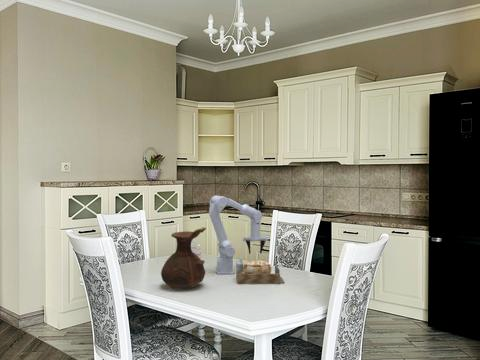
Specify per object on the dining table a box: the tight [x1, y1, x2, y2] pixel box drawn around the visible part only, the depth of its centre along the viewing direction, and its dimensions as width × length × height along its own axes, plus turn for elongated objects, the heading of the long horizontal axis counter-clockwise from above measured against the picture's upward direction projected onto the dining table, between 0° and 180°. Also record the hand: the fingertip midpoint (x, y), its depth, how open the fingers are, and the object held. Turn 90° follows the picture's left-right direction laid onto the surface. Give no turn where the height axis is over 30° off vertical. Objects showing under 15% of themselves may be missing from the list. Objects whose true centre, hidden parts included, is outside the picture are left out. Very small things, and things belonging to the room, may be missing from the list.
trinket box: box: [243, 260, 272, 274], centre depth 251 cm, size 13×15×8 cm
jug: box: [160, 227, 207, 290], centre depth 224 cm, size 22×22×30 cm
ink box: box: [191, 240, 202, 260], centre depth 280 cm, size 9×5×15 cm, turn 71°
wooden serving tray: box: [235, 259, 281, 285], centre depth 237 cm, size 22×13×10 cm, turn 93°
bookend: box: [274, 264, 286, 284], centre depth 238 cm, size 4×12×7 cm, turn 3°
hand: (255, 253), depth 264 cm, fingers open, 6 cm apart
